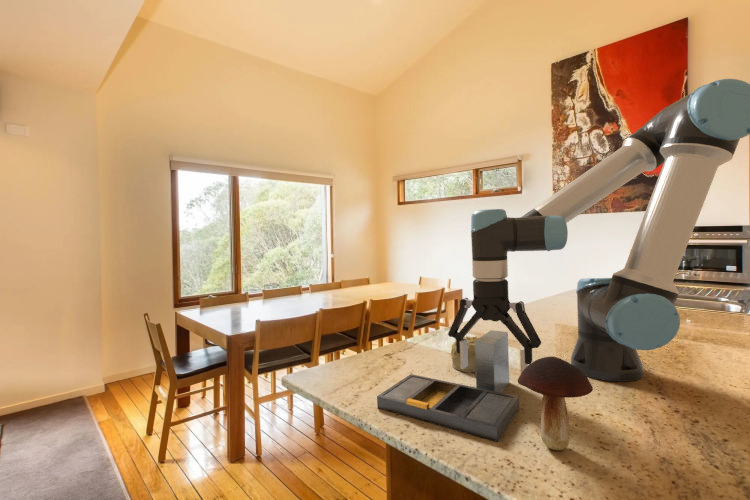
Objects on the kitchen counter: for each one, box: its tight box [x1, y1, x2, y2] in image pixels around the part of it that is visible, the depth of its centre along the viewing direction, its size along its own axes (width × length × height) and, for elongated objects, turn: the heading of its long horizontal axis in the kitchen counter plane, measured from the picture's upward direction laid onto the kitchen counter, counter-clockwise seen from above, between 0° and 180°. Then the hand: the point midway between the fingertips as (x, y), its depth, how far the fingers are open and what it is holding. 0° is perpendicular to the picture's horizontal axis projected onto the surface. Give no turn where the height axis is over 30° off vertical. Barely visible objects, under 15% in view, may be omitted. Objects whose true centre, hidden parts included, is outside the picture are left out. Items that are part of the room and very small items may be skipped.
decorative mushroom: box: [517, 356, 594, 451], centre depth 61 cm, size 11×11×15 cm
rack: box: [376, 373, 520, 443], centre depth 76 cm, size 25×14×3 cm, turn 54°
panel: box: [475, 329, 510, 393], centre depth 85 cm, size 4×10×12 cm, turn 144°
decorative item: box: [450, 335, 480, 373], centre depth 100 cm, size 10×10×10 cm
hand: (493, 372), depth 85 cm, fingers open, 13 cm apart
